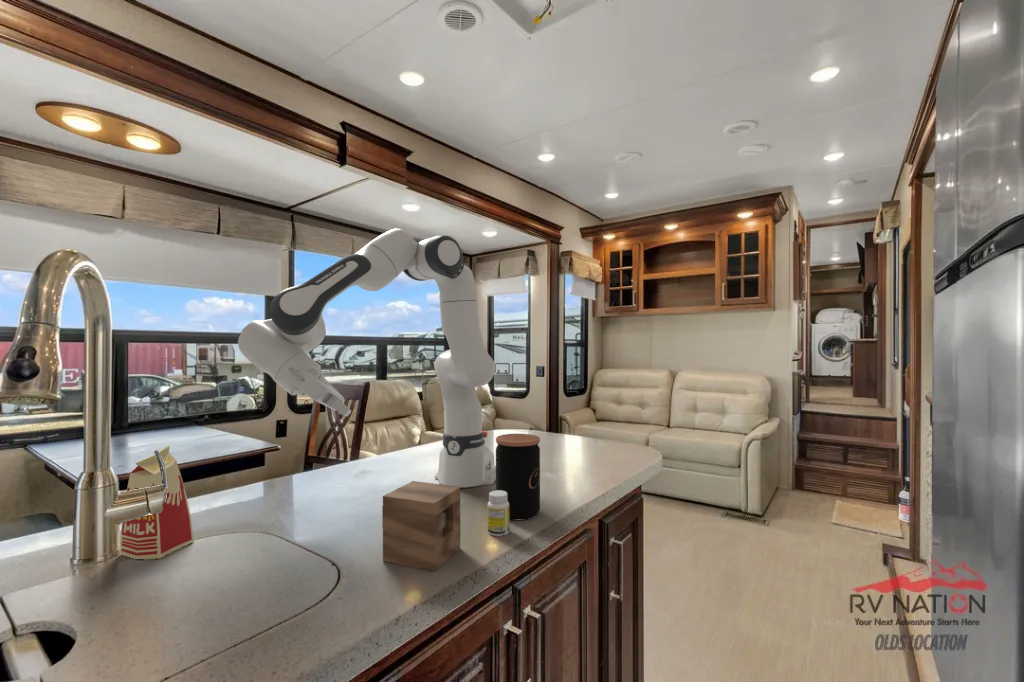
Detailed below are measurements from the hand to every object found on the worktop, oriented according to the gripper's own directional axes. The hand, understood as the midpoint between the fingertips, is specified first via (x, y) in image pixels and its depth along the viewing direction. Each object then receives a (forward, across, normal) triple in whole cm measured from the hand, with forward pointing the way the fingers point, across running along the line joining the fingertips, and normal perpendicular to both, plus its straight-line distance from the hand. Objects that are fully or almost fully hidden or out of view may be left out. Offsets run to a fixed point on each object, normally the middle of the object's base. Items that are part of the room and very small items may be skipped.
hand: (348, 413), depth 103 cm
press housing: (+31, -11, +11) cm, 35 cm away
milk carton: (-11, 0, +42) cm, 44 cm away
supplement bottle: (+42, -3, 0) cm, 42 cm away
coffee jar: (+45, +7, -6) cm, 46 cm away
